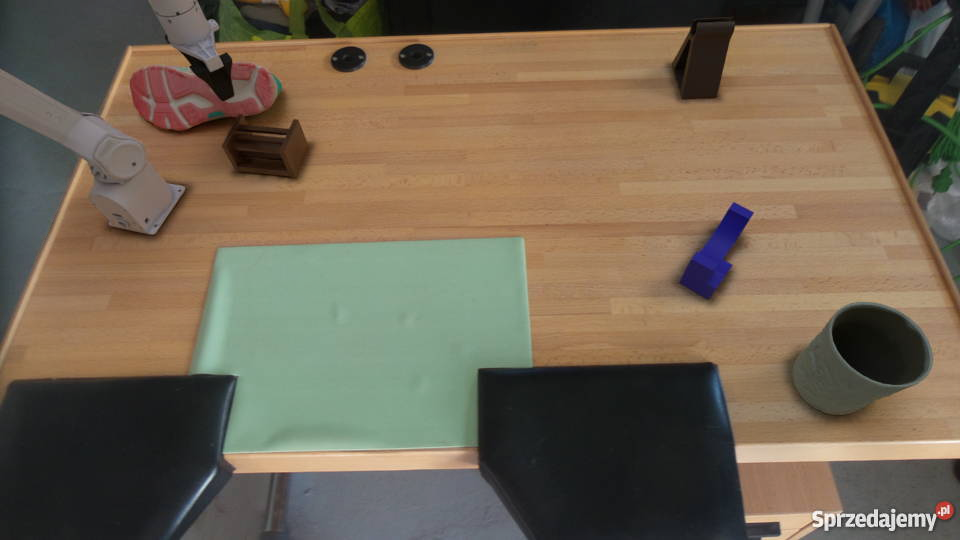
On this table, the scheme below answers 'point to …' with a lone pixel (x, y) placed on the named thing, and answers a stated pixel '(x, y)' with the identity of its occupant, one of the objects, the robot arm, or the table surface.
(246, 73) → the athletic shoe
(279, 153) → the shoe rack
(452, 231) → the table surface
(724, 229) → the blue angled block
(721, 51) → the phone stand
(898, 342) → the grey plant pot
